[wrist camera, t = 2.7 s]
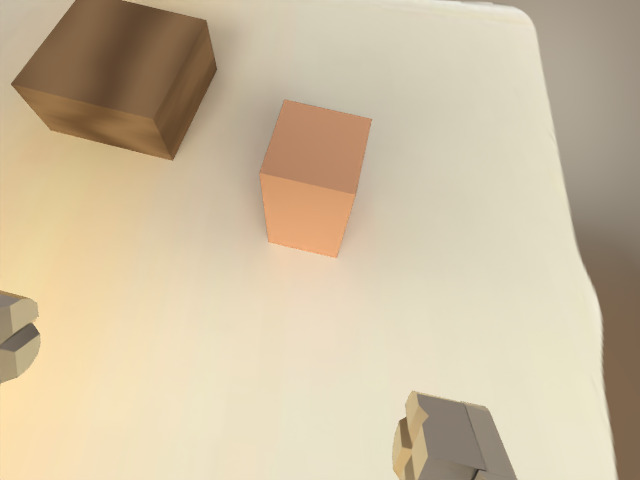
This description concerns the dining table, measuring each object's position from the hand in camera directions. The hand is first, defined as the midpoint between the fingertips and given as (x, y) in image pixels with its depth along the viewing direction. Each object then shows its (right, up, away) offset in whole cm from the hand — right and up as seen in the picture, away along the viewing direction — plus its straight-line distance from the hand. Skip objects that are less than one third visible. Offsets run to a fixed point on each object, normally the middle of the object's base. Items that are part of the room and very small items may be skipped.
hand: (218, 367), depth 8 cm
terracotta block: (+1, +4, +20) cm, 21 cm away
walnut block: (-13, +14, +24) cm, 31 cm away
